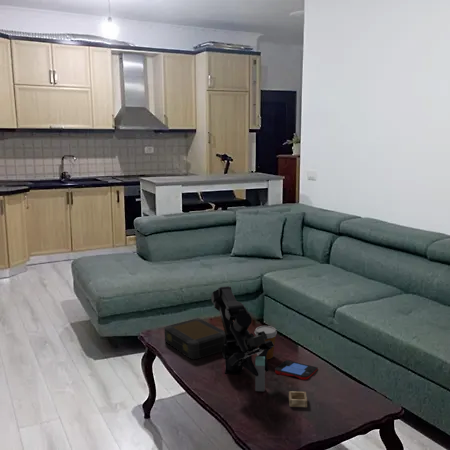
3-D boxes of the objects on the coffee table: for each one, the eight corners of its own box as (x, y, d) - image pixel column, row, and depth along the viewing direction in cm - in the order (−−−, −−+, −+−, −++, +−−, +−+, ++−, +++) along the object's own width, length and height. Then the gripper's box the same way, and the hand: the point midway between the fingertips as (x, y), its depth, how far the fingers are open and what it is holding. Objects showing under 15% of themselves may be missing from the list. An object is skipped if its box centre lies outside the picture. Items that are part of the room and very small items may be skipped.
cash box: (231, 349, 221) (231, 332, 220) (192, 361, 209) (192, 344, 208) (200, 331, 241) (199, 316, 240) (163, 342, 229) (162, 326, 228)
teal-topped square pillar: (255, 391, 182) (255, 360, 179) (255, 386, 185) (255, 356, 183) (264, 391, 181) (264, 360, 179) (264, 386, 185) (264, 356, 182)
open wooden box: (289, 408, 172) (289, 400, 172) (288, 399, 178) (288, 391, 178) (307, 408, 172) (307, 400, 171) (305, 399, 178) (305, 391, 177)
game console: (318, 370, 201) (318, 364, 201) (306, 383, 191) (306, 377, 190) (285, 362, 209) (286, 357, 208) (272, 374, 198) (272, 369, 198)
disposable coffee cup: (251, 359, 211) (251, 332, 208) (258, 350, 219) (258, 324, 217) (273, 362, 207) (273, 335, 205) (279, 353, 216) (279, 327, 214)
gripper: (233, 332, 176) (255, 372, 170) (270, 319, 188) (292, 356, 181) (219, 346, 183) (239, 385, 177) (256, 333, 195) (276, 369, 189)
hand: (262, 373), depth 181 cm, fingers closed on teal-topped square pillar, 5 cm apart
